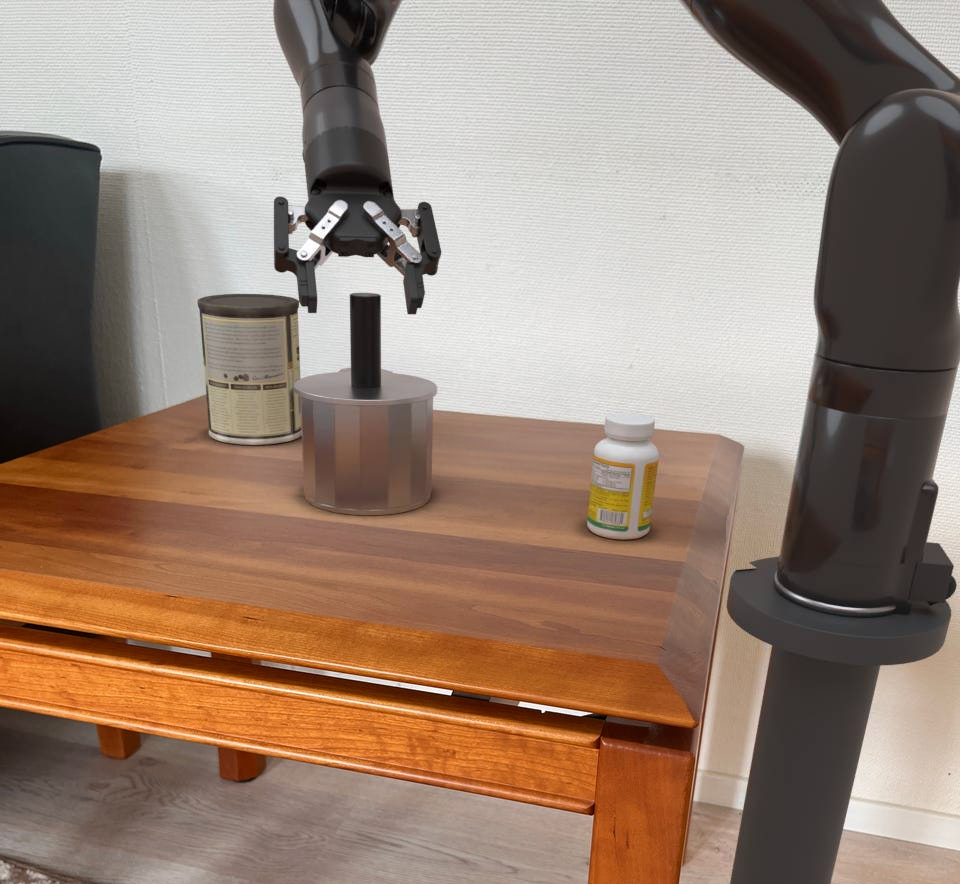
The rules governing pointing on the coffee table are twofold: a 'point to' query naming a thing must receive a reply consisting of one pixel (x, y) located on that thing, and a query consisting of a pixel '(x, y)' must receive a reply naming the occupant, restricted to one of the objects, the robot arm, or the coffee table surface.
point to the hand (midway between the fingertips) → (363, 308)
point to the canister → (367, 456)
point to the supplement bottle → (623, 478)
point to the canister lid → (365, 367)
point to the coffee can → (251, 367)
